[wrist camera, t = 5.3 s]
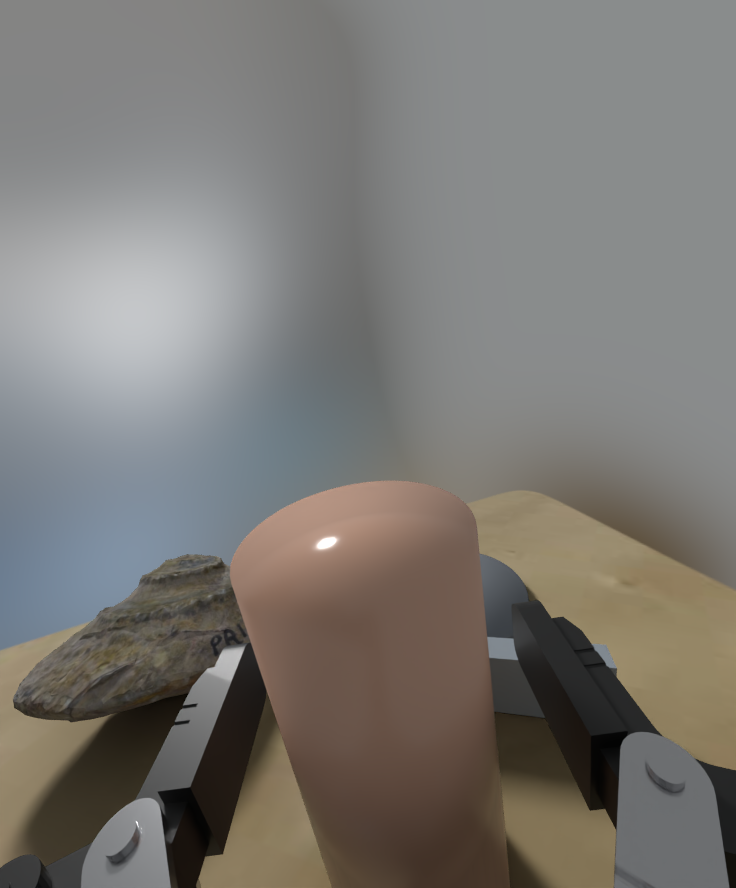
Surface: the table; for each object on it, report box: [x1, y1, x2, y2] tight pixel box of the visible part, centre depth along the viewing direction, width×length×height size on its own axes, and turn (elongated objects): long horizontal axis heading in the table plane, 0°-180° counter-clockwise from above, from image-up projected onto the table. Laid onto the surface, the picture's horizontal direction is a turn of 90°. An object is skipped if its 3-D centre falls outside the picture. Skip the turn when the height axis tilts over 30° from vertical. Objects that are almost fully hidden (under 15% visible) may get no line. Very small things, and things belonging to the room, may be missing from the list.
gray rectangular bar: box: [487, 637, 617, 718], centre depth 15 cm, size 14×1×3 cm, turn 75°
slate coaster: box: [480, 554, 529, 639], centre depth 21 cm, size 8×8×1 cm
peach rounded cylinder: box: [230, 481, 511, 888], centre depth 9 cm, size 5×5×12 cm
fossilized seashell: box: [13, 554, 251, 722], centre depth 19 cm, size 11×11×7 cm
